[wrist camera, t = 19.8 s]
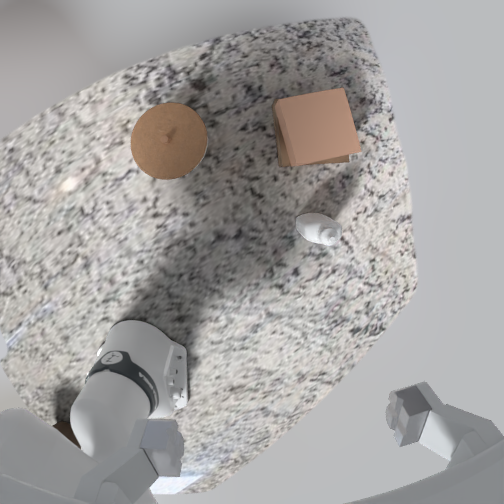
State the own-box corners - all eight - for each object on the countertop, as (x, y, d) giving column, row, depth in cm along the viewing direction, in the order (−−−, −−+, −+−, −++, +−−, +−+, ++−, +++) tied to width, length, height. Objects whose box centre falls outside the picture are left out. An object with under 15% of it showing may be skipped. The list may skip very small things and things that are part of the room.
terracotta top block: (349, 152, 43) (361, 151, 38) (291, 166, 43) (297, 166, 38) (333, 95, 40) (343, 87, 36) (274, 106, 41) (278, 99, 36)
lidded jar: (221, 121, 45) (216, 110, 36) (200, 185, 48) (190, 189, 39) (158, 105, 44) (140, 92, 35) (138, 168, 47) (116, 168, 38)
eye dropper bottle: (319, 242, 51) (341, 264, 39) (290, 226, 50) (305, 244, 39) (332, 219, 50) (358, 235, 38) (304, 202, 49) (322, 213, 38)
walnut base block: (339, 162, 48) (349, 162, 43) (278, 166, 48) (282, 166, 43) (332, 103, 45) (341, 97, 40) (271, 105, 45) (274, 99, 40)
